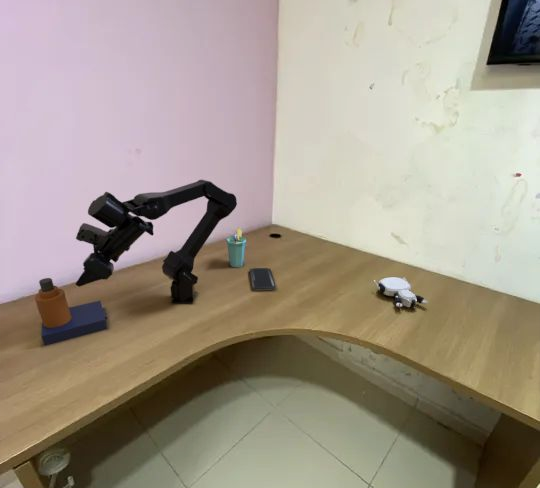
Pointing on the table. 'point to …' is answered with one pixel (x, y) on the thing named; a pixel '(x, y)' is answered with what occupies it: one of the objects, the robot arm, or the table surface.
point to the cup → (236, 249)
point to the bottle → (52, 304)
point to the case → (77, 323)
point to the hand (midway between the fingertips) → (81, 277)
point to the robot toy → (399, 291)
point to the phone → (262, 279)
